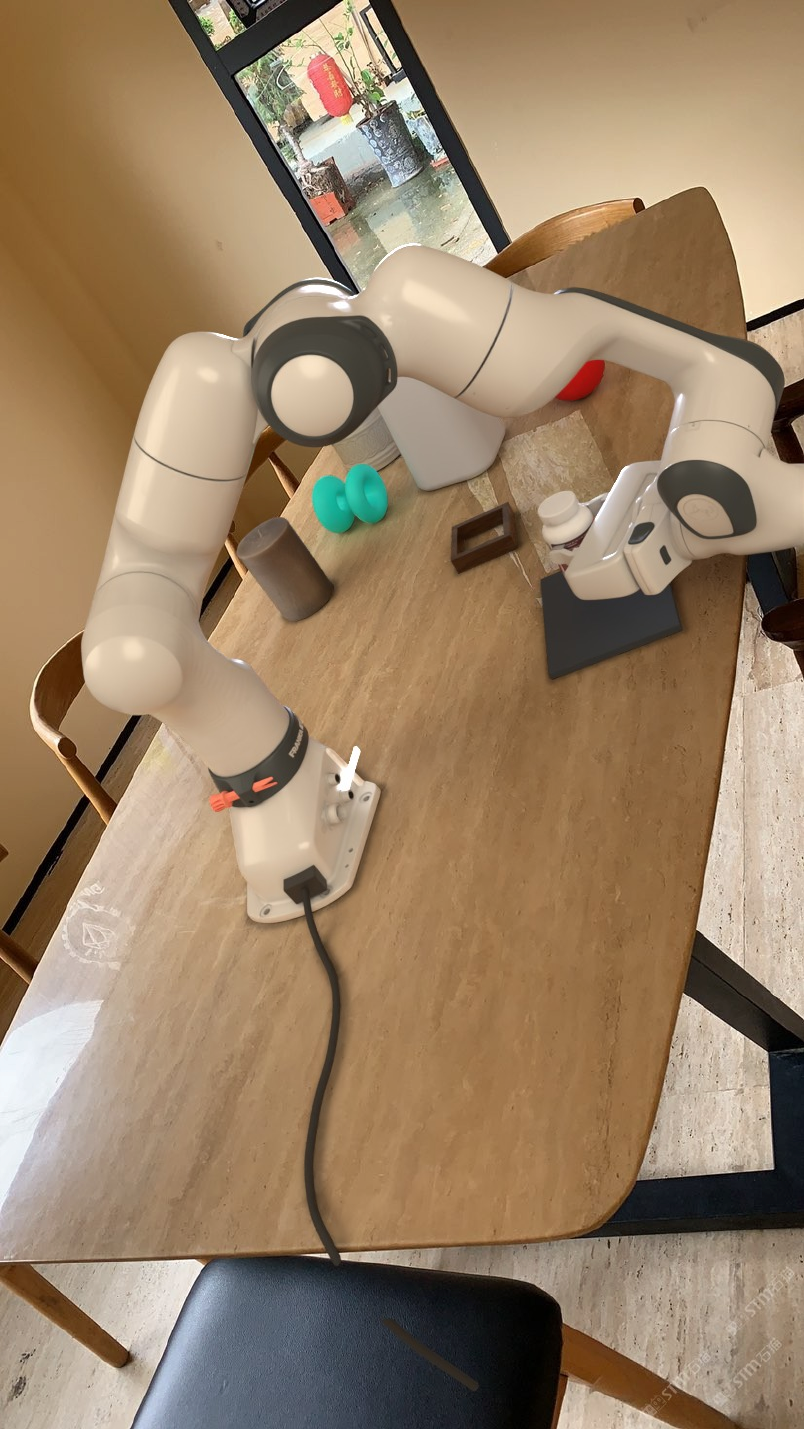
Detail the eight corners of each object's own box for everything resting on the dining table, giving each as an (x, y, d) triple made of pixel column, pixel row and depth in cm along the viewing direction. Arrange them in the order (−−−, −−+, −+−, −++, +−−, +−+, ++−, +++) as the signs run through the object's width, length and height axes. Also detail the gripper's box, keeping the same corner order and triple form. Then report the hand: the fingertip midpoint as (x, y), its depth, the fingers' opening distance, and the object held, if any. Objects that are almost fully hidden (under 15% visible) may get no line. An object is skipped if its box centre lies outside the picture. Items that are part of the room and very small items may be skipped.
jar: (418, 444, 191) (370, 361, 181) (360, 486, 191) (309, 404, 181) (395, 428, 201) (349, 349, 192) (341, 467, 201) (291, 390, 192)
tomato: (542, 408, 175) (518, 356, 170) (590, 371, 176) (567, 318, 171) (576, 418, 167) (551, 364, 161) (626, 379, 168) (602, 324, 162)
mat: (683, 630, 117) (680, 624, 117) (551, 679, 123) (548, 674, 122) (658, 536, 132) (656, 530, 132) (543, 584, 138) (540, 579, 138)
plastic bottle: (414, 499, 175) (327, 355, 160) (437, 449, 185) (357, 308, 169) (492, 475, 167) (409, 321, 152) (513, 424, 177) (436, 273, 161)
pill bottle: (628, 564, 123) (592, 490, 117) (591, 598, 122) (553, 525, 116) (595, 553, 128) (558, 482, 122) (559, 586, 127) (521, 516, 121)
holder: (517, 548, 148) (510, 535, 146) (458, 574, 151) (450, 560, 150) (515, 514, 155) (508, 501, 153) (459, 539, 158) (451, 526, 157)
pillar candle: (341, 575, 169) (291, 502, 161) (324, 614, 163) (271, 540, 155) (294, 590, 174) (243, 520, 166) (275, 628, 168) (221, 557, 160)
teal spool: (380, 532, 173) (349, 485, 168) (332, 546, 179) (301, 500, 173) (397, 497, 179) (368, 450, 174) (350, 511, 185) (321, 466, 179)
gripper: (694, 438, 116) (587, 457, 125) (630, 560, 106) (519, 571, 115) (712, 483, 120) (606, 499, 129) (652, 605, 109) (542, 613, 119)
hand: (564, 534), depth 122 cm, fingers closed on pill bottle, 6 cm apart
